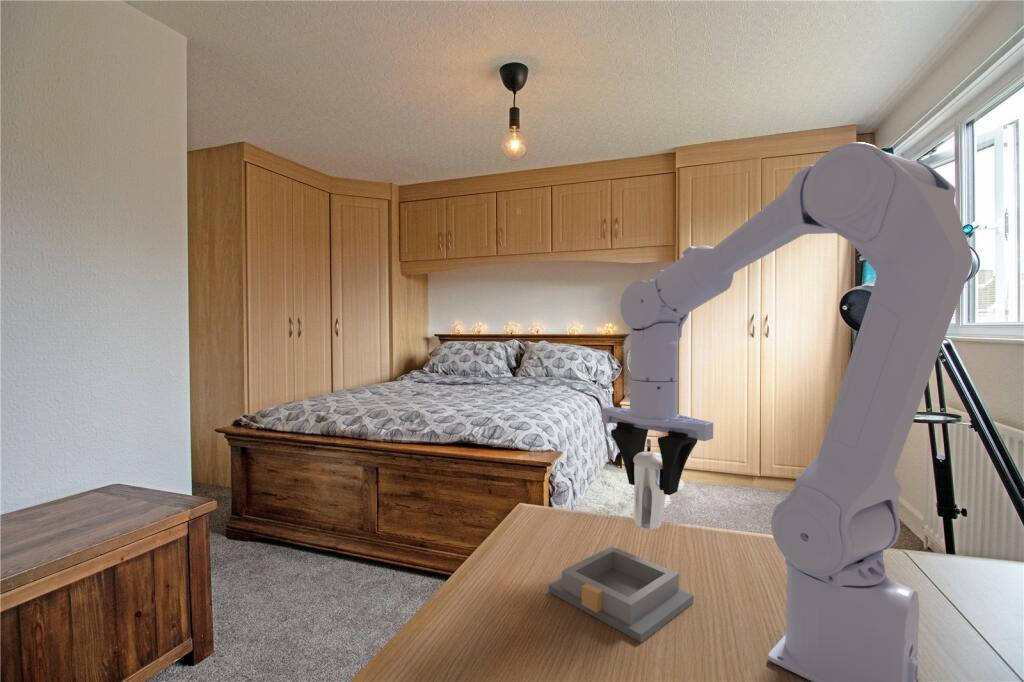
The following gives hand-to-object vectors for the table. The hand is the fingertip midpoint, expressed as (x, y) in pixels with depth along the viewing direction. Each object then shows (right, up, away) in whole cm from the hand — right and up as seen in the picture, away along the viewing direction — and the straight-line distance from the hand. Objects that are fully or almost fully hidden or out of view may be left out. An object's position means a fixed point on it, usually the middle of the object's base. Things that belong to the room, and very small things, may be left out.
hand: (652, 487), depth 62 cm
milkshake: (-1, -5, +1) cm, 5 cm away
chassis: (-6, -10, -7) cm, 14 cm away
